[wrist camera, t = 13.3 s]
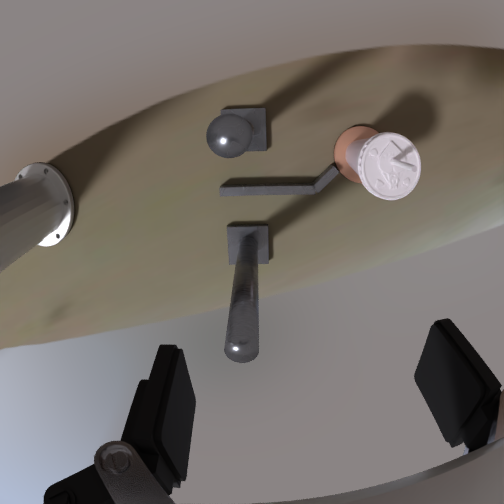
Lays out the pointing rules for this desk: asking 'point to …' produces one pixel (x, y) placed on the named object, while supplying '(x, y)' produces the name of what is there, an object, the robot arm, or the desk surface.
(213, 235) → the desk surface
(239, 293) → the post
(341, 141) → the coaster
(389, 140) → the smoothie
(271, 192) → the bent rail
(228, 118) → the post
